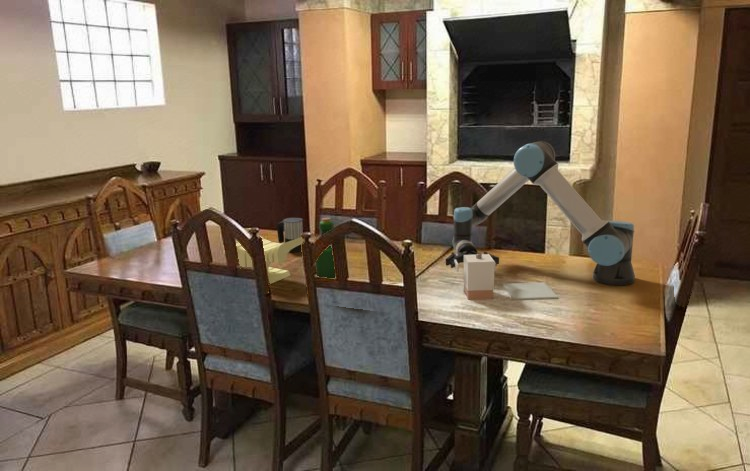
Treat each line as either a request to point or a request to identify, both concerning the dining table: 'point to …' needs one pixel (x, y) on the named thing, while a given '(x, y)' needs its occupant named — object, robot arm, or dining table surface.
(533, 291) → the mat
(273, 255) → the slatted curved stool
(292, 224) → the milk frother
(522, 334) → the dining table surface
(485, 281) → the cover
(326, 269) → the bottle
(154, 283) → the dining table surface
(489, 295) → the dish
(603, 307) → the dining table surface
